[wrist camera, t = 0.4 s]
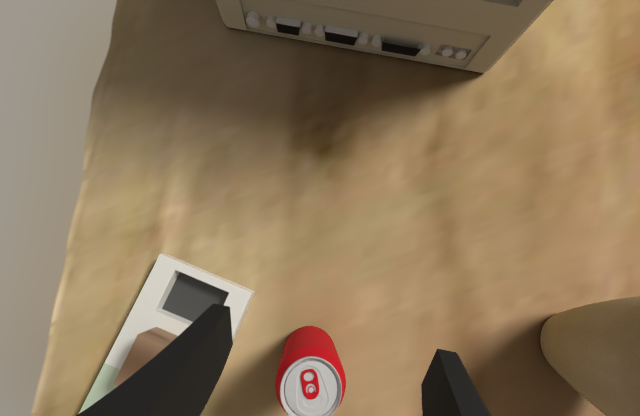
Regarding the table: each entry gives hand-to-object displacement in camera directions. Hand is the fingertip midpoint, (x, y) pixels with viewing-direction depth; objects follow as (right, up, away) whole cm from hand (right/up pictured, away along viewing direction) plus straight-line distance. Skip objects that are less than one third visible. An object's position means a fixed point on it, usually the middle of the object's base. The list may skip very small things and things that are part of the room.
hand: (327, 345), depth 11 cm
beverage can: (-2, -13, +27) cm, 30 cm away
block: (-18, -12, +24) cm, 32 cm away
